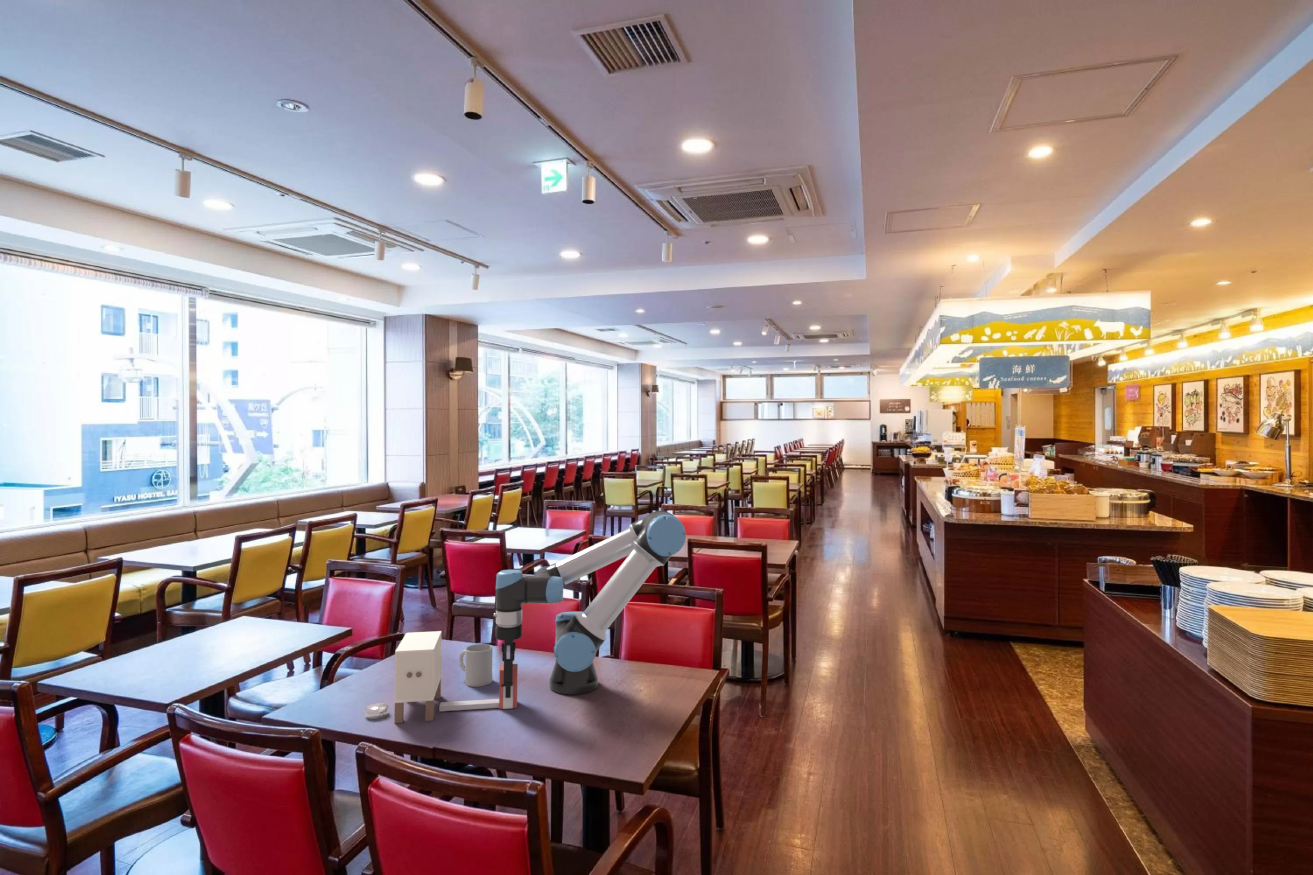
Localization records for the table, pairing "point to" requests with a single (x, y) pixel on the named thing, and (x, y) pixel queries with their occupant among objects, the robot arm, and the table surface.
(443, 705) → the red mallet
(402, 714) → the cabinet
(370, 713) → the token
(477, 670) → the mug
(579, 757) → the table surface
